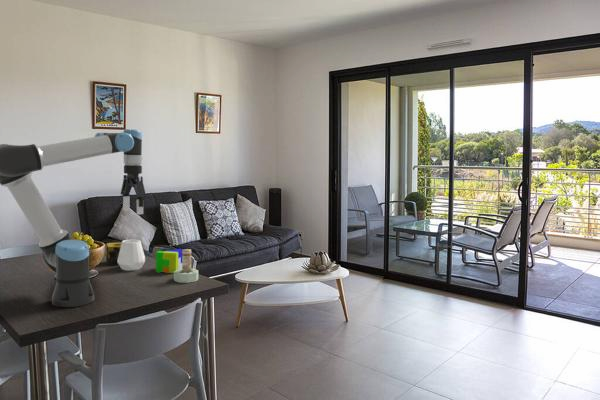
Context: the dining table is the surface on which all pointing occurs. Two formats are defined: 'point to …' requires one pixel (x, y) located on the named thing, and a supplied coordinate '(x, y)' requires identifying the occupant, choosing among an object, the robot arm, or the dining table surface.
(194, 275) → the bead
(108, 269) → the dining table surface
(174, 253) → the puzzle toy
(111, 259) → the candle
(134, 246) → the cup
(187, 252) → the striped rounded cylinder
